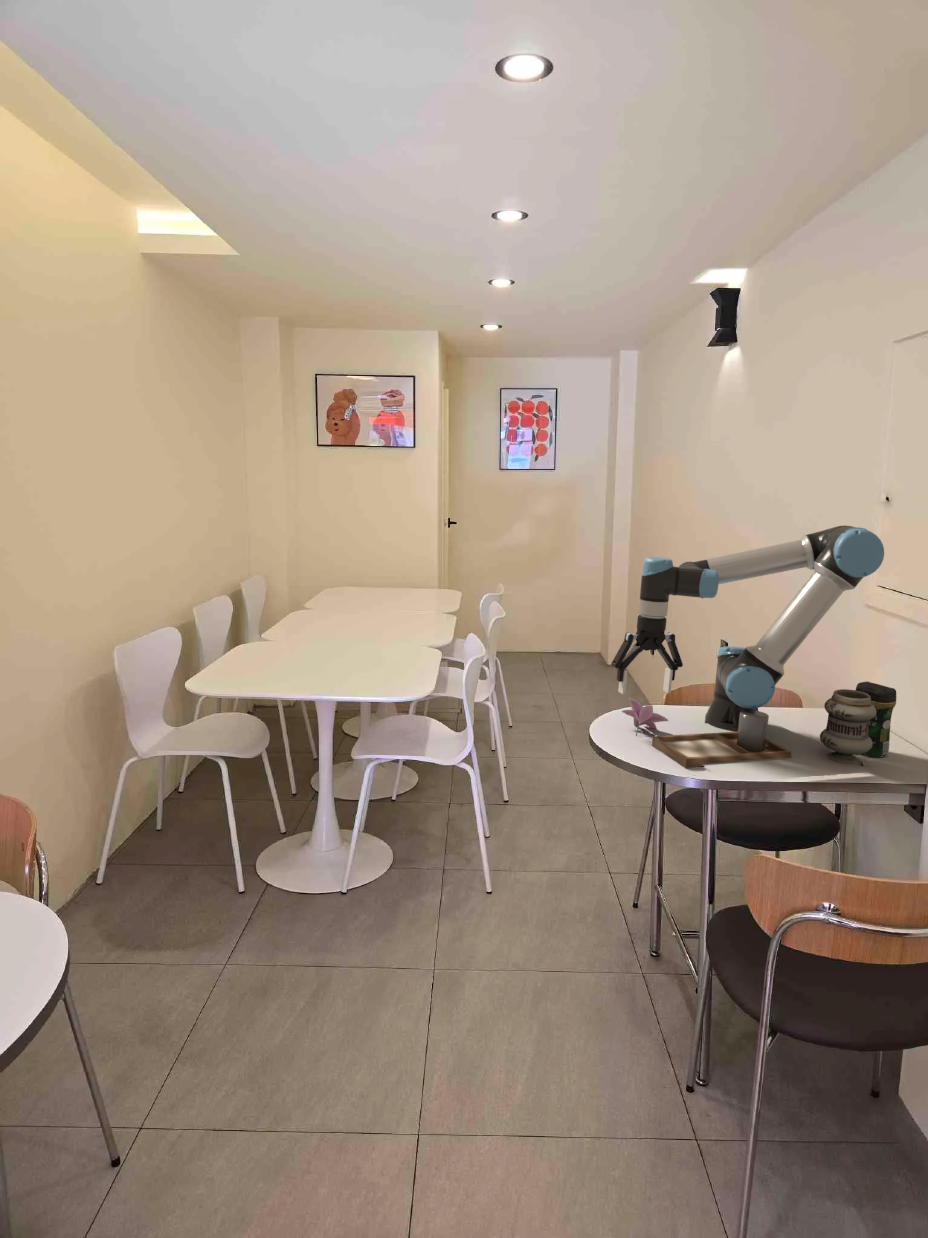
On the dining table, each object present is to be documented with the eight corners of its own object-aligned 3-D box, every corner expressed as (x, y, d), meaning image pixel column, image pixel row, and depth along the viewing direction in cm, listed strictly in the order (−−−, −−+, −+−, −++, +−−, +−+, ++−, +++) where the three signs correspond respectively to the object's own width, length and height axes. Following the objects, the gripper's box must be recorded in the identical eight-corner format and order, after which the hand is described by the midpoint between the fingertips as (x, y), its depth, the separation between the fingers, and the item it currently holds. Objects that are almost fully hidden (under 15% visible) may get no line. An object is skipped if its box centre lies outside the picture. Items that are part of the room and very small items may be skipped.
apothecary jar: (818, 765, 199) (827, 696, 195) (815, 750, 210) (824, 684, 207) (872, 773, 195) (882, 702, 191) (866, 757, 206) (875, 690, 203)
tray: (750, 739, 217) (751, 730, 216) (790, 761, 201) (791, 751, 201) (651, 745, 209) (652, 736, 208) (685, 768, 193) (686, 759, 193)
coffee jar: (841, 748, 212) (850, 681, 209) (858, 744, 217) (867, 678, 213) (876, 760, 204) (886, 690, 201) (893, 755, 209) (903, 687, 205)
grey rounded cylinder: (753, 742, 211) (757, 709, 210) (770, 751, 205) (774, 717, 203) (730, 743, 210) (734, 710, 208) (747, 752, 203) (750, 718, 201)
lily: (670, 743, 214) (676, 709, 217) (638, 731, 209) (644, 696, 211) (639, 743, 224) (644, 710, 227) (607, 731, 219) (614, 698, 222)
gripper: (686, 613, 219) (677, 687, 223) (603, 612, 212) (596, 689, 216) (701, 618, 212) (692, 695, 216) (616, 618, 205) (608, 697, 209)
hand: (644, 692), depth 216 cm, fingers open, 13 cm apart
